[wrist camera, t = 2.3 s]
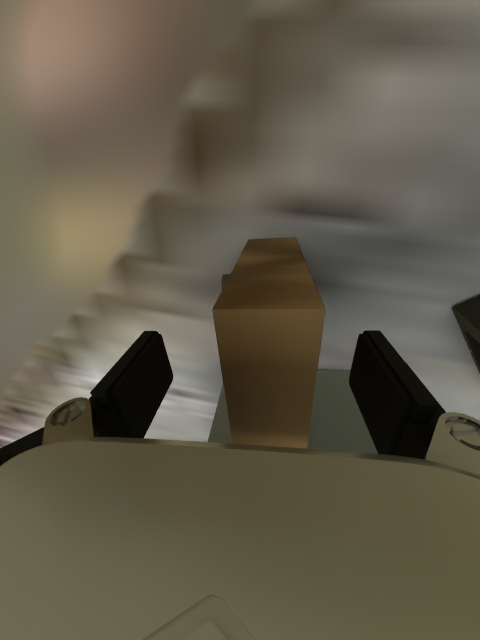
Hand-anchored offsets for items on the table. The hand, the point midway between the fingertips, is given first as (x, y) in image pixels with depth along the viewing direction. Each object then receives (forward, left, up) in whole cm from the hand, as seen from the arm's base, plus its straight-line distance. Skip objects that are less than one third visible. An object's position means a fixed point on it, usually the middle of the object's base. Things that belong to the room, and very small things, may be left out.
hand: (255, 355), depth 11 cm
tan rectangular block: (-1, 0, -7) cm, 7 cm away
